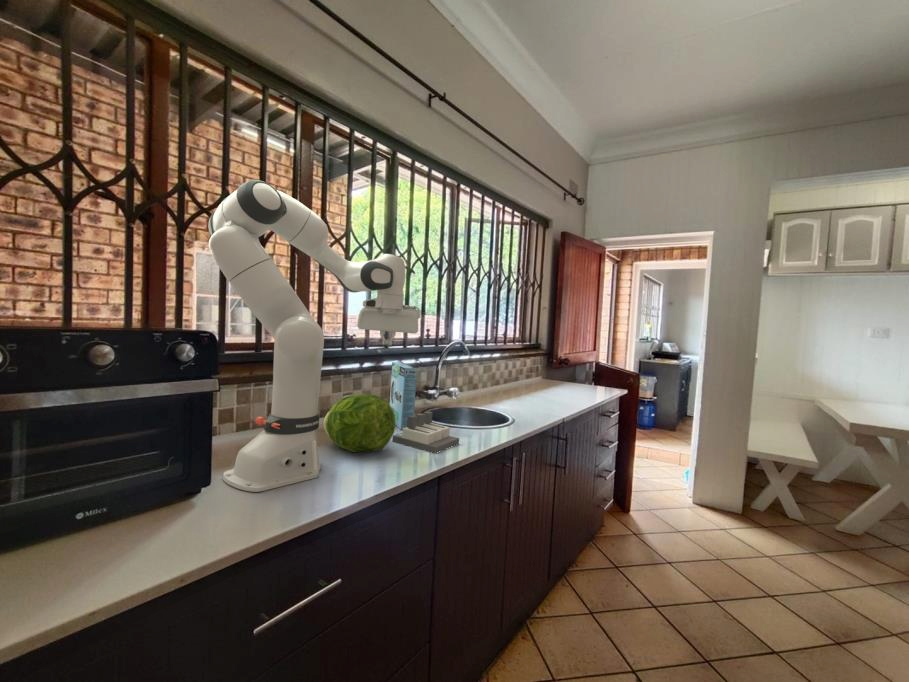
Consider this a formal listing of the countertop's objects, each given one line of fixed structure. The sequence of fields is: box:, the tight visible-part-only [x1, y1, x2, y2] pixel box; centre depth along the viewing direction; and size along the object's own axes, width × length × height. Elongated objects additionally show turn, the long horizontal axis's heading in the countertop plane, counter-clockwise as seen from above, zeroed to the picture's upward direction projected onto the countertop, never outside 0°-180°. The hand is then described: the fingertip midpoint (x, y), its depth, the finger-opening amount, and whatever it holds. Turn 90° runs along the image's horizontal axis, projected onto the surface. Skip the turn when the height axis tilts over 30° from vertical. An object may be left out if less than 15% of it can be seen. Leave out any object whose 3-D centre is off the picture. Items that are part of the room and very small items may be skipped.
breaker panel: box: [391, 422, 460, 454], centre depth 134 cm, size 14×17×5 cm
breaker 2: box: [423, 411, 434, 424], centre depth 139 cm, size 2×2×4 cm
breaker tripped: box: [415, 413, 425, 426], centre depth 135 cm, size 2×2×4 cm
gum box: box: [389, 361, 418, 431], centre depth 156 cm, size 20×5×23 cm, turn 22°
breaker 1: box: [407, 415, 417, 429], centre depth 131 cm, size 2×2×4 cm
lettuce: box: [323, 393, 396, 454], centre depth 122 cm, size 17×23×17 cm
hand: (387, 344), depth 136 cm, fingers closed
